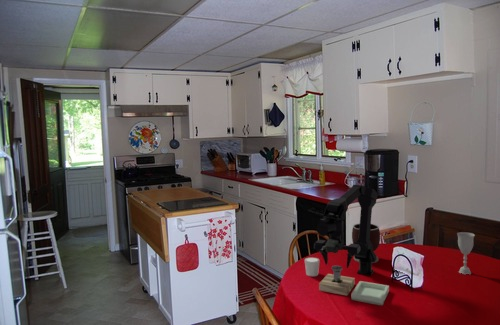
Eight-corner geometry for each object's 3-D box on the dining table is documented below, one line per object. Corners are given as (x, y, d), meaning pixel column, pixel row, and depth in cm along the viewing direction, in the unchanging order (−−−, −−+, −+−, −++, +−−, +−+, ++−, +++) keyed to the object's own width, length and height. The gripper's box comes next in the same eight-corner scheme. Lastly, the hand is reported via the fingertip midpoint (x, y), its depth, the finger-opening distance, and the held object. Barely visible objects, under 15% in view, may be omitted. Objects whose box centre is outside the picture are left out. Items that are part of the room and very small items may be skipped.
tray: (359, 286, 171) (359, 280, 171) (388, 291, 165) (388, 285, 165) (351, 299, 159) (351, 293, 158) (382, 305, 153) (382, 299, 153)
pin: (333, 284, 174) (333, 264, 173) (343, 286, 171) (343, 266, 171) (330, 288, 170) (330, 268, 169) (340, 290, 168) (340, 269, 167)
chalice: (456, 274, 180) (457, 235, 178) (455, 269, 186) (456, 231, 185) (475, 276, 177) (476, 237, 176) (472, 270, 184) (473, 232, 182)
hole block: (328, 280, 179) (327, 273, 178) (354, 284, 173) (354, 278, 173) (319, 290, 168) (319, 283, 168) (347, 295, 162) (347, 288, 162)
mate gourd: (379, 264, 195) (379, 225, 193) (350, 262, 200) (350, 223, 198) (380, 254, 209) (380, 217, 207) (354, 252, 214) (353, 216, 212)
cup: (319, 277, 183) (319, 262, 182) (304, 276, 184) (304, 261, 183) (319, 271, 189) (319, 257, 189) (305, 271, 191) (305, 256, 190)
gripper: (309, 233, 166) (309, 269, 167) (353, 238, 157) (353, 276, 158) (317, 226, 175) (318, 260, 177) (360, 231, 166) (360, 266, 168)
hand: (337, 266), depth 170 cm, fingers open, 9 cm apart
